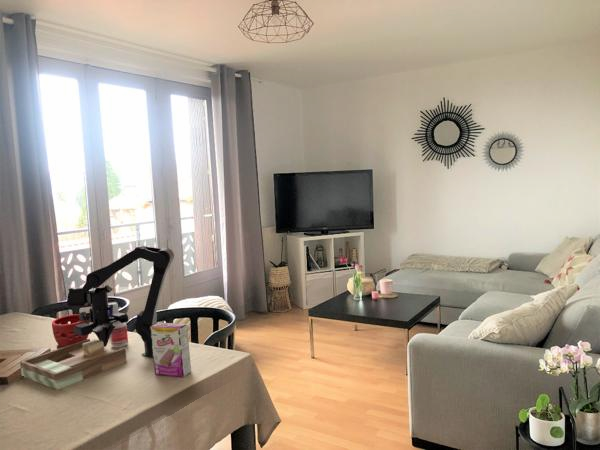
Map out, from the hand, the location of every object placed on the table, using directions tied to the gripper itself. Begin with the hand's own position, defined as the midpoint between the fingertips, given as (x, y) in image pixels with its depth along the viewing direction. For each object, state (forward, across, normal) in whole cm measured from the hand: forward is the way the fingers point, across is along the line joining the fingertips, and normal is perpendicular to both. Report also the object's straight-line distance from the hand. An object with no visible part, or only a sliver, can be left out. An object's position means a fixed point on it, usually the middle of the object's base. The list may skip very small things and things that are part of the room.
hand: (104, 346), depth 180 cm
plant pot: (+4, 0, -21) cm, 21 cm away
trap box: (+4, +12, 0) cm, 12 cm away
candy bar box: (+4, -2, +35) cm, 35 cm away
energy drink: (+4, -21, -26) cm, 34 cm away
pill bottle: (+4, -11, -7) cm, 14 cm away
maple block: (+1, +4, 0) cm, 4 cm away
